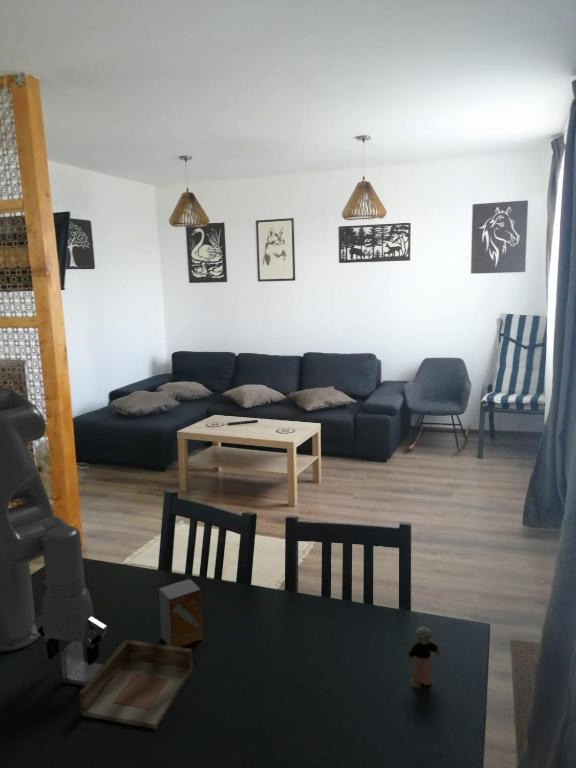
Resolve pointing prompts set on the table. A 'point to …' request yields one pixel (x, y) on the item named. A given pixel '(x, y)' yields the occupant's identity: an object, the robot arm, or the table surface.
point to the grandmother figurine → (422, 657)
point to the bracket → (77, 665)
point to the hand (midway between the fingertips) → (73, 658)
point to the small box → (181, 613)
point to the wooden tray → (137, 683)
